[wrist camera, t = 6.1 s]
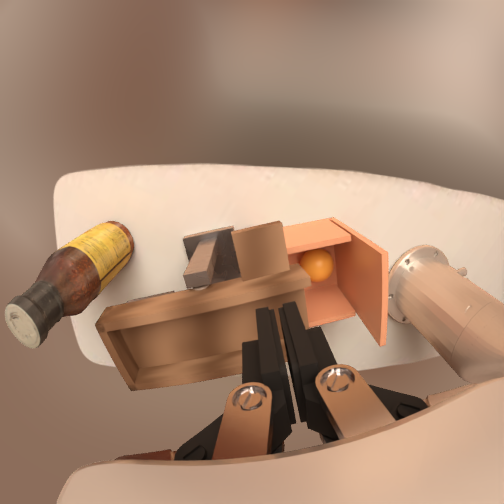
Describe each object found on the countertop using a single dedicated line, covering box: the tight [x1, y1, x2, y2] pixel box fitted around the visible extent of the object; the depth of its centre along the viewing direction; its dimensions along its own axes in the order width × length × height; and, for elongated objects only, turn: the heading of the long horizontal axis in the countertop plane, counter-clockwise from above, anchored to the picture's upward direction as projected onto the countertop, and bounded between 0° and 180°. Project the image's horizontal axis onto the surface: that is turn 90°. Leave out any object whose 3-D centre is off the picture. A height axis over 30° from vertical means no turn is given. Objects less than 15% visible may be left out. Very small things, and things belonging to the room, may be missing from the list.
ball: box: [300, 248, 334, 282], centre depth 32 cm, size 4×4×4 cm
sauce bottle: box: [5, 221, 134, 348], centre depth 24 cm, size 7×6×20 cm
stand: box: [183, 226, 241, 288], centre depth 29 cm, size 6×12×12 cm, turn 11°
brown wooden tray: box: [95, 221, 311, 391], centre depth 23 cm, size 18×12×6 cm, turn 101°
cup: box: [283, 217, 388, 346], centre depth 28 cm, size 9×9×14 cm
